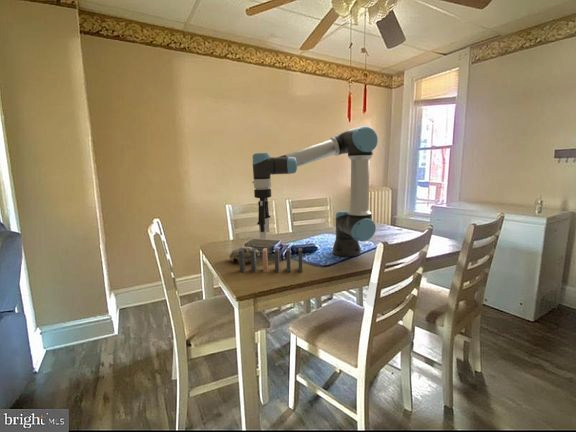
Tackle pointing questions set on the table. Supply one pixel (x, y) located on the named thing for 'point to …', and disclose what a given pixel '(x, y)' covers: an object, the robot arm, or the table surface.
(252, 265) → the domino
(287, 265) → the domino
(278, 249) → the domino
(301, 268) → the domino
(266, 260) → the domino
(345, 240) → the robot arm
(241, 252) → the domino
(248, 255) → the skull
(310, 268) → the table surface
